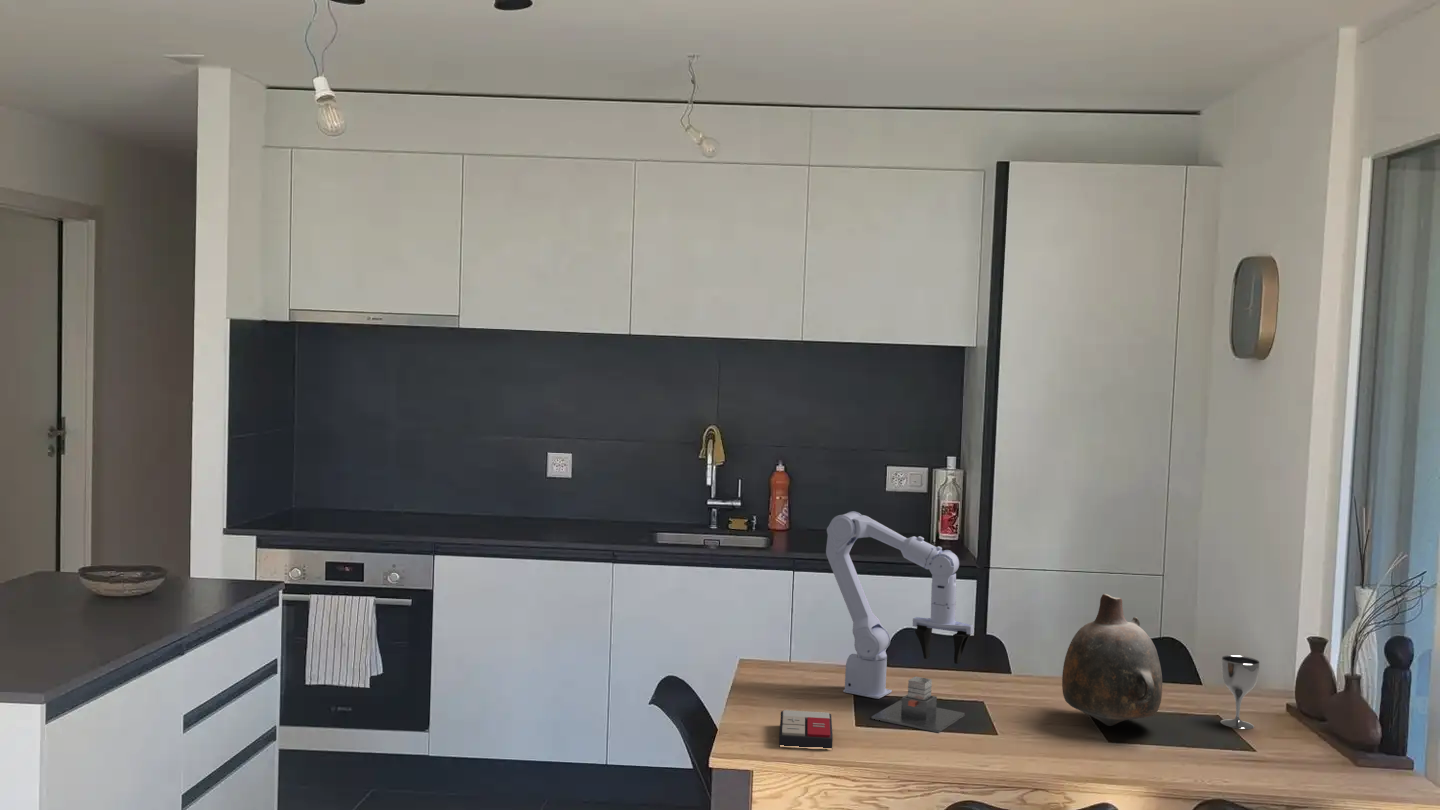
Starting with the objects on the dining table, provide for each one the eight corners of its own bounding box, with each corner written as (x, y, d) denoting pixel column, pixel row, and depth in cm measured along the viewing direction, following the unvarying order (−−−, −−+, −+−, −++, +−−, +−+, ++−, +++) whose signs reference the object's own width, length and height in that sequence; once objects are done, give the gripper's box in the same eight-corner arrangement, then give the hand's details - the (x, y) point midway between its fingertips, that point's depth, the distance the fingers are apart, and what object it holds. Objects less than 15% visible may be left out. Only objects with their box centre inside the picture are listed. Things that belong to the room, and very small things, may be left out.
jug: (1181, 728, 272) (1188, 596, 271) (1141, 748, 256) (1148, 609, 255) (1080, 704, 289) (1086, 580, 287) (1036, 721, 273) (1043, 590, 272)
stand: (871, 718, 271) (872, 698, 270) (899, 702, 284) (900, 683, 284) (938, 732, 262) (939, 712, 262) (964, 715, 276) (965, 695, 276)
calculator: (779, 732, 248) (781, 707, 263) (778, 752, 249) (780, 726, 264) (832, 735, 248) (831, 710, 262) (832, 755, 248) (830, 729, 263)
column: (906, 715, 273) (908, 680, 272) (913, 710, 276) (915, 676, 276) (923, 718, 270) (925, 683, 270) (930, 714, 274) (932, 679, 274)
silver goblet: (1256, 722, 279) (1259, 658, 278) (1255, 731, 272) (1259, 665, 271) (1219, 716, 282) (1222, 653, 282) (1217, 725, 275) (1221, 660, 274)
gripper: (979, 604, 283) (977, 661, 283) (921, 596, 291) (920, 652, 291) (968, 608, 277) (966, 667, 277) (909, 601, 285) (908, 658, 285)
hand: (941, 660), depth 284 cm, fingers open, 7 cm apart
